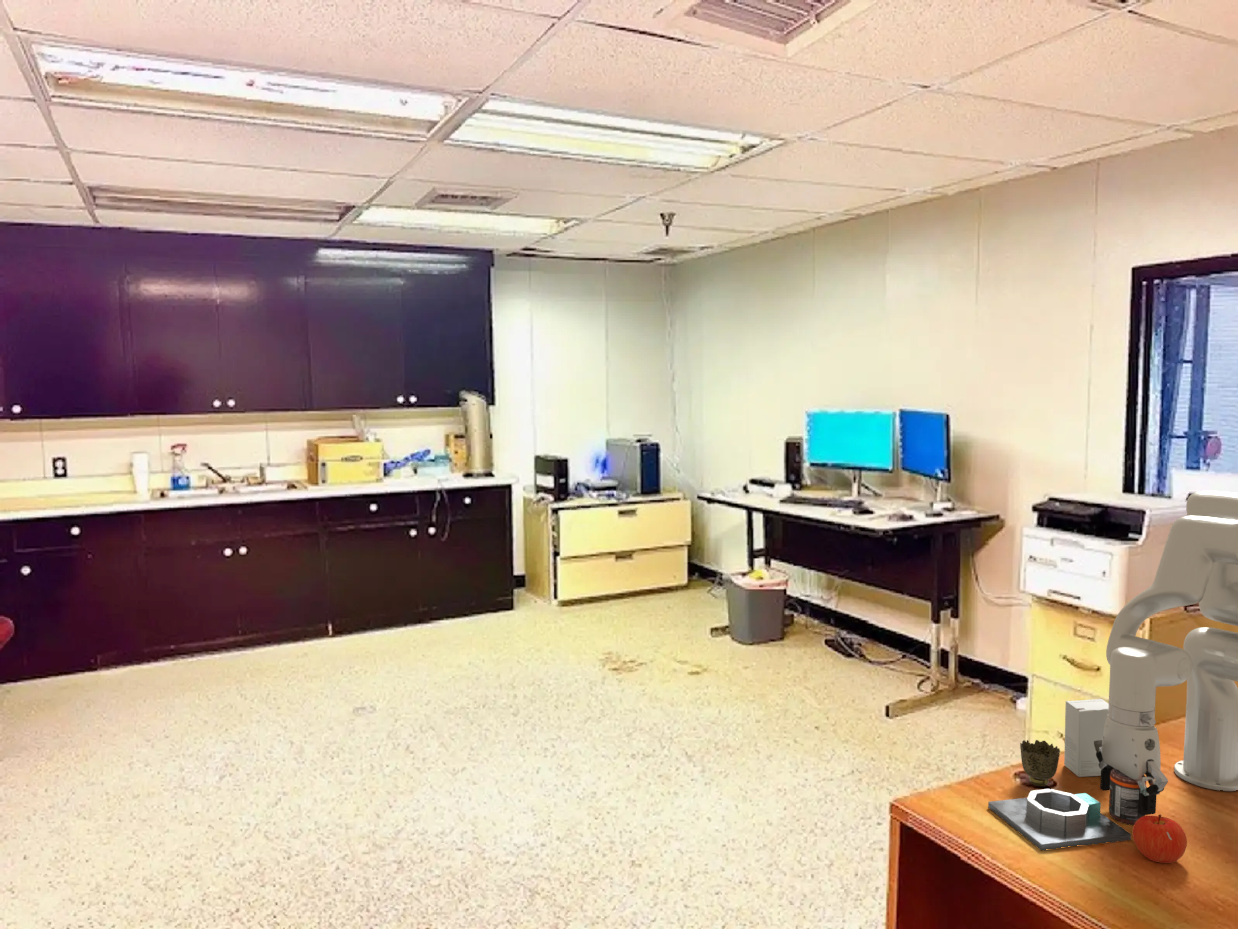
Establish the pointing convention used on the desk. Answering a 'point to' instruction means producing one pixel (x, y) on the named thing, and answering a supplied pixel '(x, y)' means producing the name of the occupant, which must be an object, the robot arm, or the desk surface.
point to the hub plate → (1052, 835)
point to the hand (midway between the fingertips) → (1127, 801)
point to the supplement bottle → (1124, 798)
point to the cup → (1039, 761)
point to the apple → (1159, 838)
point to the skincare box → (1084, 735)
